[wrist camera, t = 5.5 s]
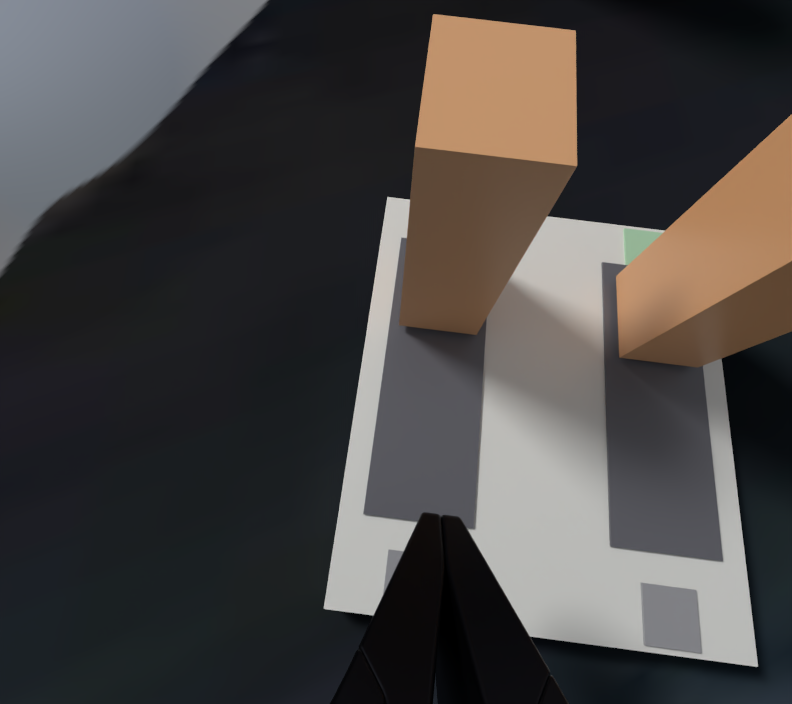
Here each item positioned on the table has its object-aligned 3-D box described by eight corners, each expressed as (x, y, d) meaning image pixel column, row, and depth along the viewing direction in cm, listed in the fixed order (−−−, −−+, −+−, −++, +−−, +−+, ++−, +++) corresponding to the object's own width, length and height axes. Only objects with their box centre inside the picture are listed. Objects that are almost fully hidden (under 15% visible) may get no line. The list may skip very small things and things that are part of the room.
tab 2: (697, 367, 16) (1048, 231, 8) (619, 357, 16) (880, 210, 8) (689, 285, 17) (989, 84, 9) (615, 276, 17) (841, 68, 9)
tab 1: (476, 335, 16) (576, 165, 8) (398, 325, 16) (414, 146, 8) (481, 255, 17) (575, 30, 9) (409, 246, 18) (433, 14, 9)
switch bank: (729, 653, 15) (760, 668, 14) (328, 599, 15) (323, 609, 14) (688, 250, 20) (708, 234, 18) (387, 213, 20) (387, 195, 19)
